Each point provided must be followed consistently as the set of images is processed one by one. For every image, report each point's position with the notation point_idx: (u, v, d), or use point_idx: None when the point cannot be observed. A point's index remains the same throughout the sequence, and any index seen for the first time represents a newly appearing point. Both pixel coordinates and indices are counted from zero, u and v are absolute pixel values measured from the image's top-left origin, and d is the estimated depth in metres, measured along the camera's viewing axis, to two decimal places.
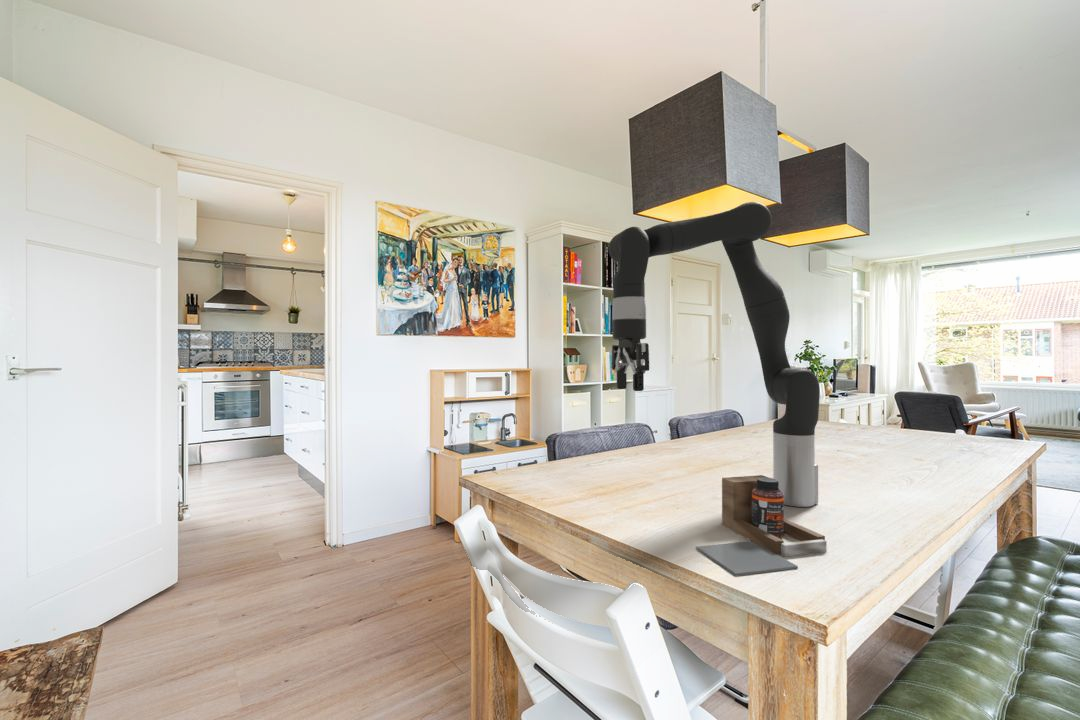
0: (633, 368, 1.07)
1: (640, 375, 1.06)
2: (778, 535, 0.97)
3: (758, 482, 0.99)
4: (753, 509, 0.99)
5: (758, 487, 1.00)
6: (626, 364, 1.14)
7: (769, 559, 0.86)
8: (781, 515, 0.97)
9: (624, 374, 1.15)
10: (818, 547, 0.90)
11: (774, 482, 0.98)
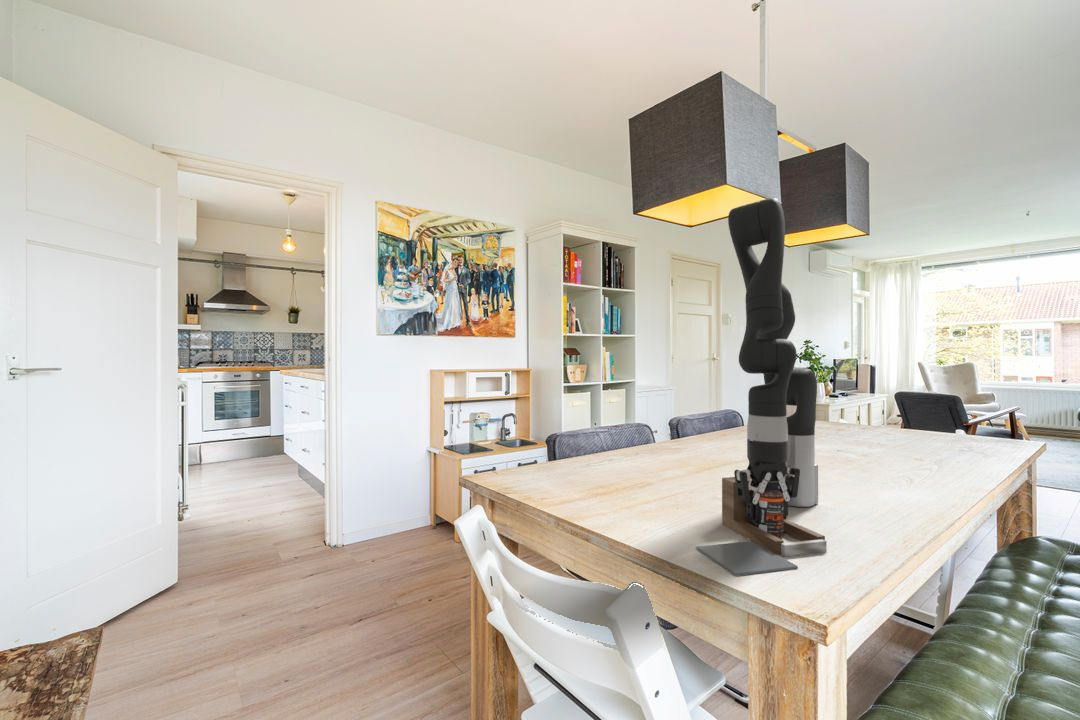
0: (786, 495, 0.99)
1: None
2: (778, 535, 0.97)
3: None
4: None
5: None
6: None
7: (769, 559, 0.86)
8: (781, 515, 0.97)
9: None
10: (818, 547, 0.90)
11: (774, 482, 0.98)
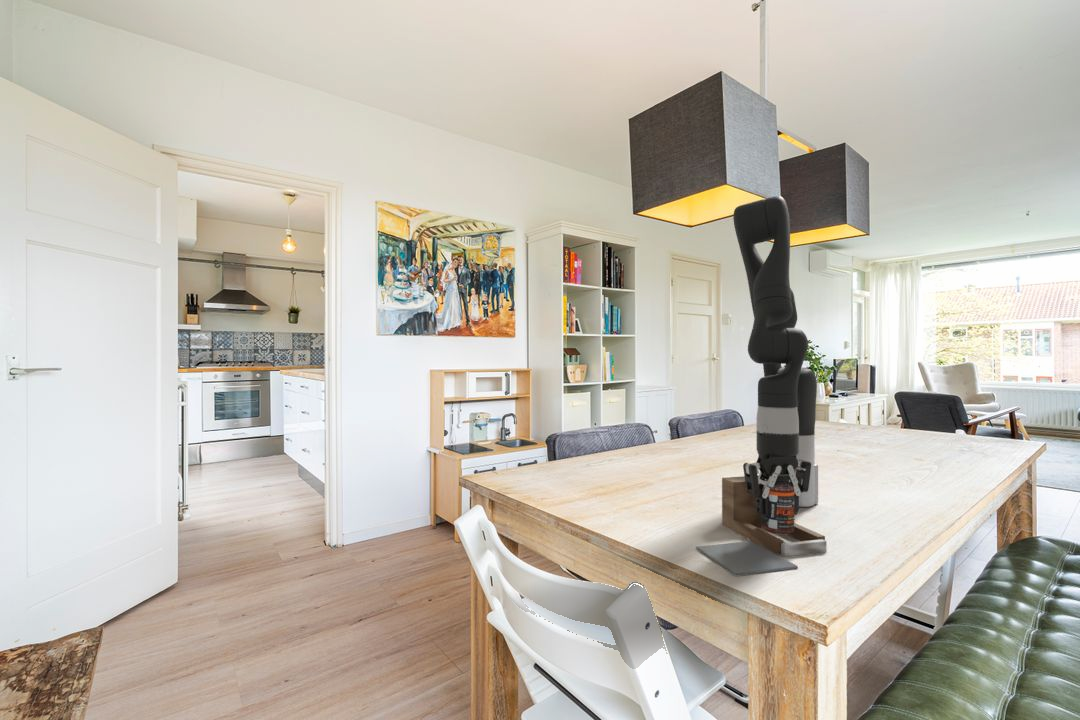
0: (797, 489, 0.96)
1: None
2: (789, 530, 0.94)
3: None
4: None
5: None
6: None
7: (769, 559, 0.86)
8: (792, 510, 0.94)
9: None
10: (818, 547, 0.90)
11: (784, 476, 0.95)
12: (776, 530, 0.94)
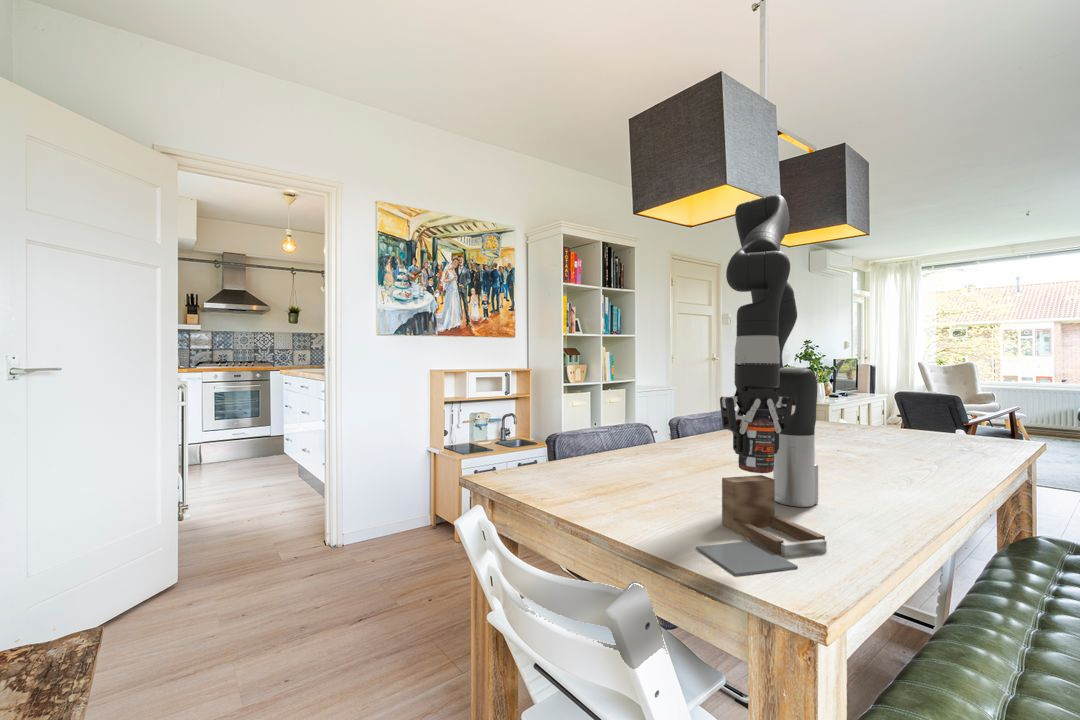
0: (777, 426, 0.89)
1: None
2: (768, 468, 0.87)
3: None
4: None
5: None
6: None
7: (769, 559, 0.86)
8: (771, 446, 0.87)
9: None
10: (818, 547, 0.90)
11: (764, 410, 0.88)
12: (754, 468, 0.87)
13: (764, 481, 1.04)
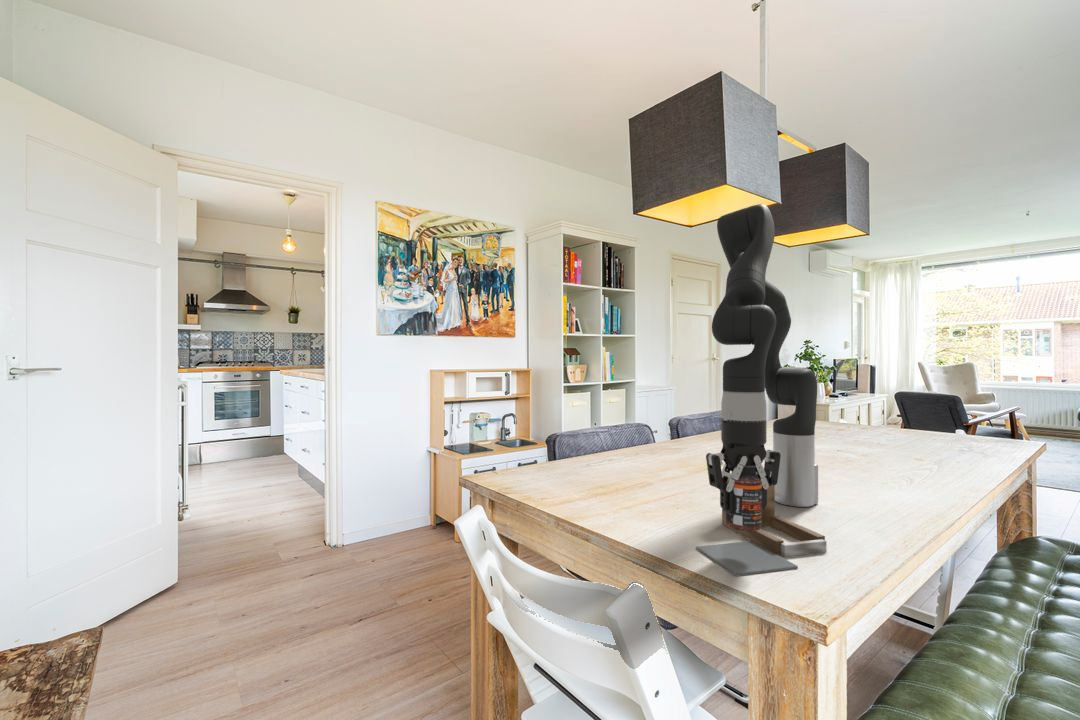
0: (765, 482, 0.88)
1: None
2: (755, 527, 0.85)
3: None
4: None
5: None
6: None
7: (769, 559, 0.86)
8: (759, 504, 0.86)
9: None
10: (818, 547, 0.90)
11: (751, 467, 0.86)
12: (741, 527, 0.86)
13: None
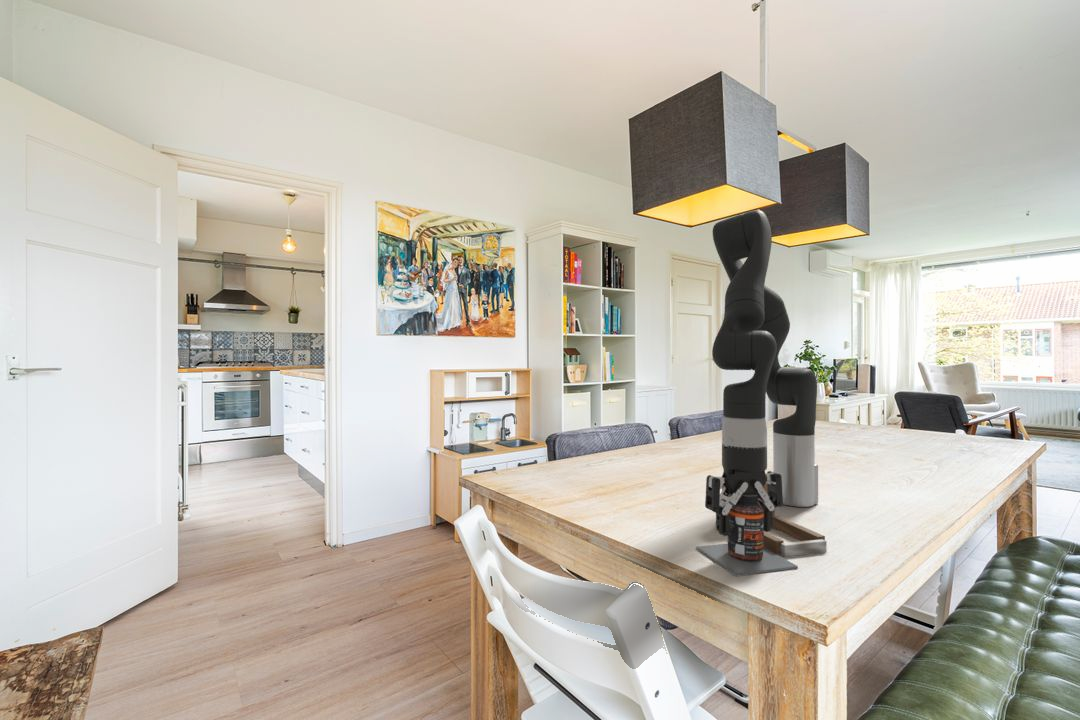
0: (770, 504, 0.88)
1: None
2: (757, 556, 0.85)
3: None
4: (729, 526, 0.88)
5: None
6: None
7: (769, 559, 0.86)
8: (760, 534, 0.86)
9: None
10: (818, 547, 0.90)
11: (753, 496, 0.86)
12: (743, 556, 0.86)
13: None
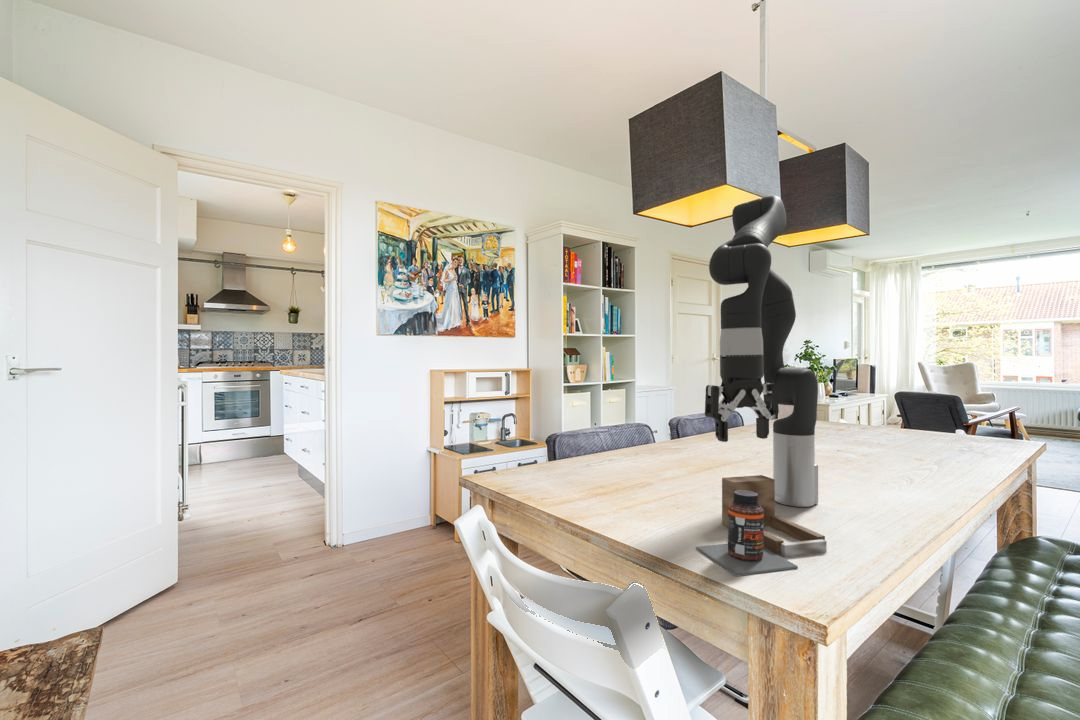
0: (766, 412, 0.92)
1: None
2: (757, 556, 0.85)
3: (735, 496, 0.88)
4: (729, 526, 0.88)
5: (735, 501, 0.88)
6: None
7: (769, 559, 0.86)
8: (760, 534, 0.86)
9: None
10: (818, 547, 0.90)
11: (753, 496, 0.86)
12: (743, 556, 0.86)
13: (764, 481, 1.04)
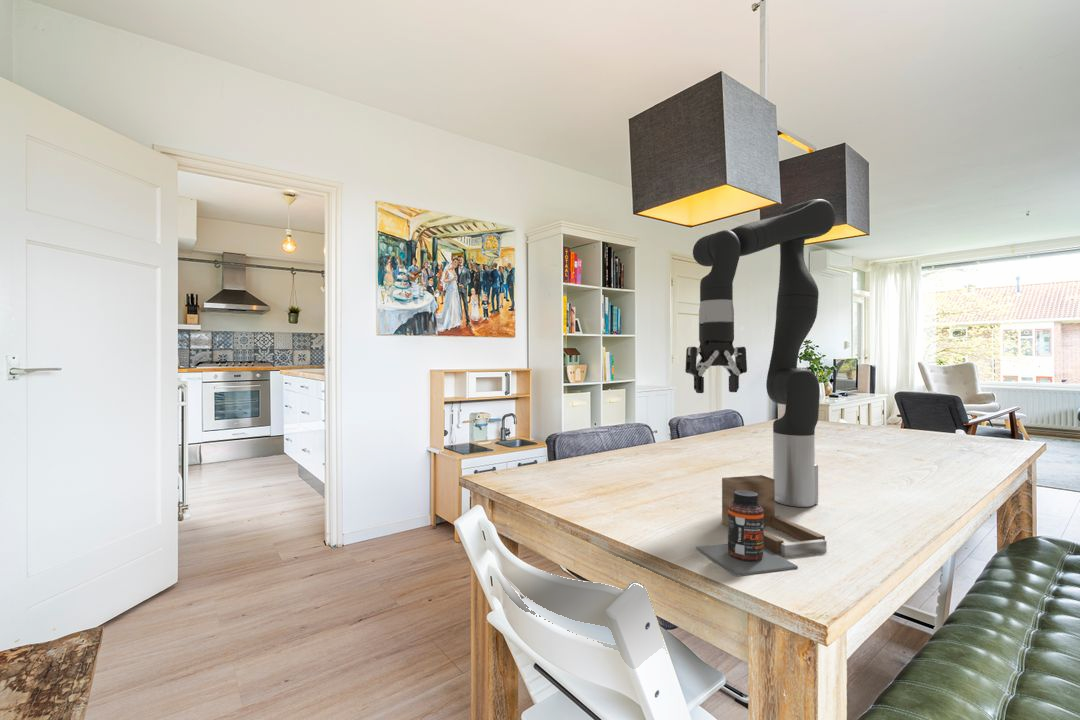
0: (736, 370, 1.11)
1: None
2: (757, 556, 0.85)
3: (735, 496, 0.88)
4: (729, 526, 0.88)
5: (735, 501, 0.88)
6: None
7: (769, 559, 0.86)
8: (760, 534, 0.86)
9: None
10: (818, 547, 0.90)
11: (753, 496, 0.86)
12: (743, 556, 0.86)
13: (764, 481, 1.04)
